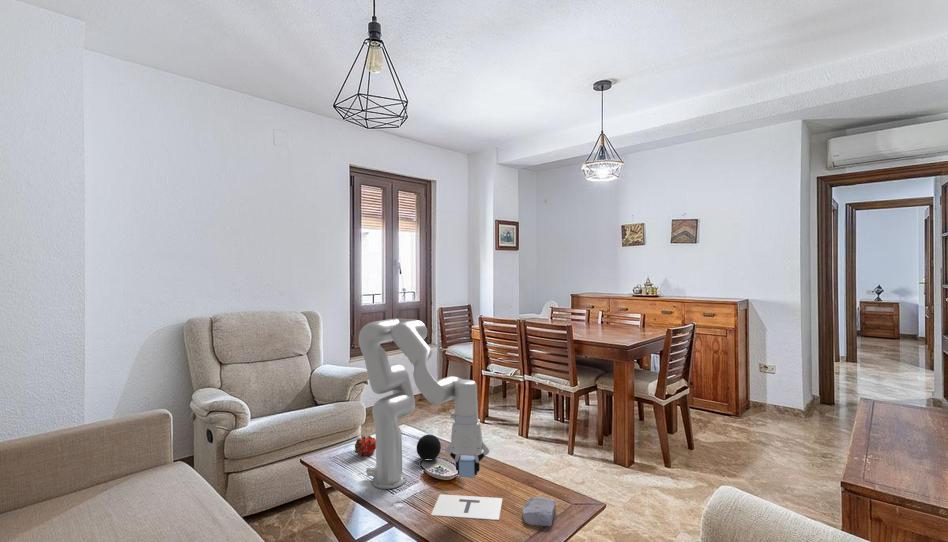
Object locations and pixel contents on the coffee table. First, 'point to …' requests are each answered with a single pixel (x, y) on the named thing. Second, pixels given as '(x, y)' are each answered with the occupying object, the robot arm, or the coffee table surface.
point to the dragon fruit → (365, 446)
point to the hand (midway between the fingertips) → (467, 472)
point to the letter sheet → (468, 507)
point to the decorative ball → (428, 447)
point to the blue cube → (466, 466)
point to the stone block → (539, 511)
